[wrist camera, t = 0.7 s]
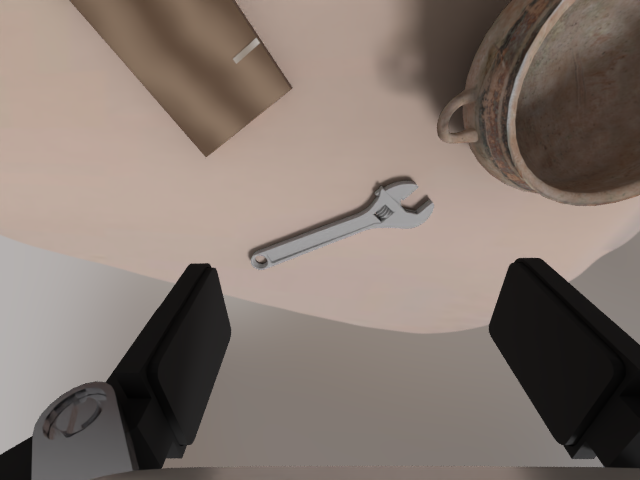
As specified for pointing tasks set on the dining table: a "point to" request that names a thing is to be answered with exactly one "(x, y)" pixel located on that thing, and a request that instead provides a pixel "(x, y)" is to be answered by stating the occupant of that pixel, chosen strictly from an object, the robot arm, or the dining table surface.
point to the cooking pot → (557, 100)
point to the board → (192, 61)
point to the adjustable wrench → (352, 224)
